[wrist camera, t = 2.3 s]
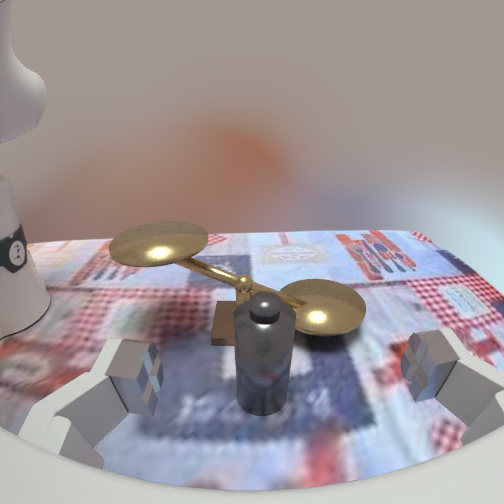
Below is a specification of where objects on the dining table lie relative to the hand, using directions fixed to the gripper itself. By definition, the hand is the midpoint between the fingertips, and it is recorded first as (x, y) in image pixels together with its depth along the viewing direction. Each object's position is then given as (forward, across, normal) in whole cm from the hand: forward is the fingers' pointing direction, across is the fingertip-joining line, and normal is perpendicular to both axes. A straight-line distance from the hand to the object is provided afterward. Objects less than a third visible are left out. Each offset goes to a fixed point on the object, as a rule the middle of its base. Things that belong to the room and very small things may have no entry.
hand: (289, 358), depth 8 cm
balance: (+24, +2, +19) cm, 31 cm away
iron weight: (+12, 0, +19) cm, 22 cm away
